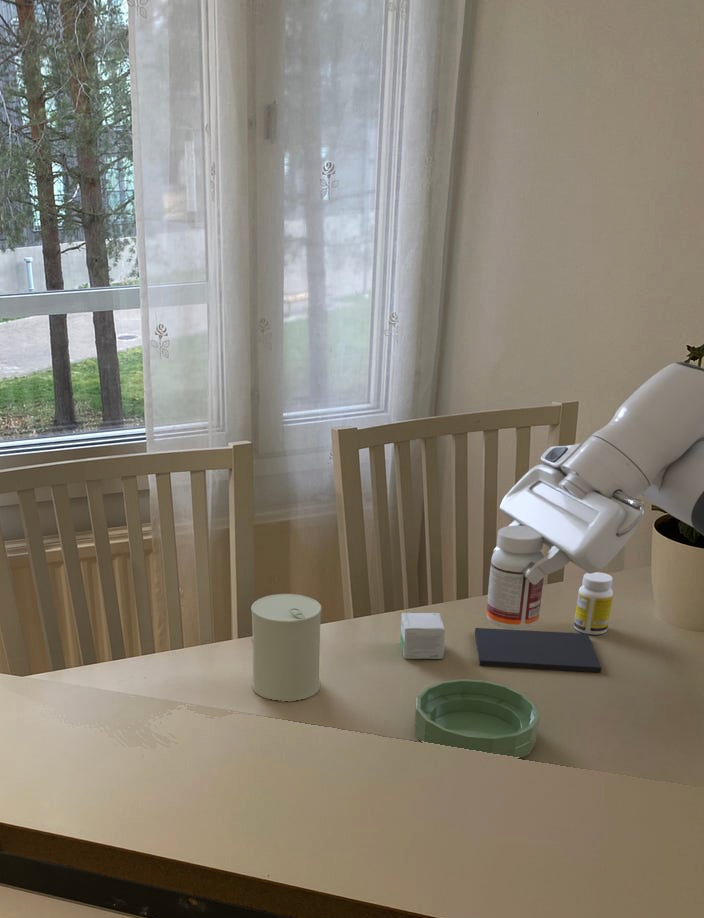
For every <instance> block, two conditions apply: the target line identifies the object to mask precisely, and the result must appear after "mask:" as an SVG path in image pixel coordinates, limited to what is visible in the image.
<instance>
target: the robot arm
mask: <svg viewBox="0 0 704 918" xmlns="http://www.w3.org/2000/svg"><path fill="white" fill-rule="evenodd" d="M540 461H541V462H542V463H540V464H539V463H538V464H537V465H535V466H533V467H532V468H530V469H529V470H528V471H527V472H526V473H525V474H524V475H523V476H522V477H521V478H520V479H519V480H518V481H517V482H516V483H515V484H514V485H513V486H512V487H511V488H510V489H509V491H508V492H507V493H505V495H504V497H503V498H502V500H501V502H500V505H499V511H500V512H501V513H502V514H503V515H504V516H505V517H506V518H508V520H509V521H510V522H511V523H510V524H509V525H508V526H528V527H529V528H531V529H532V530H533V531H535V532H537V533H538V534H540V535H541V536H542V537H543V545H545V546H547V547H548V548H549V550H547V551H546V554H547V555H546V556H544V558H543V559H541V560H539V561H538V562H536V563H535V564H534V563H533V562H530V563H529V564H528V565H527V567H526V568H524V569H523V570H522V575H523V576H524V577H525V578H526V579H527V580H528V581H529V582H531V583H532V584H537V583H538V582H539V581H540V580H541V579H542V578H543V577H544V578H545V577H546V576H548V575H551V574H553V573H555V572H557V571H560V570H562V569H563V568H565V567H566V566H567V565H568V564H569V562H571V563H572V564H574V565H575V566H577V567H579V568H580V569H581V570H583V571H584V572H586V573H590V574H592V573H595V572H599V571H602V570H604V568H605V567H606V566H607V565H608V564H609V563H610V562H611V561H612V560H613V559H614V558H615V557H616V555H618V553H619V552H620V551H621V550H622V549H623V548H624V546H625V545H626V544H627V542H628V541H629V540H630V539H631V538H632V536H633V534H634V532H635V531H636V527H637V526H638V525H639V524H640V523H641V522H642V521H643V519H644V517H645V515H644V514H645V503H644V502H643V501H642V500H641V499H639V498H640V497H641V496H643V497H644V499H646V500H647V501H648V502H649V503H651V504H652V505H654V506H656V507H657V508H659V509H661V510H663V511H665V512H666V513H667V514H669V515H670V516H672V517H674V518H675V519H677V520H679V521H680V522H683V523H685V524H686V525H688V526H690V527H692V528H694V530H696V531H697V532H698V533H699V534H701V535H702V536H704V367H701V366H698V365H696V364H693V363H689V362H684V361H676V362H673V363H671V364H668V365H667V366H665V367H663V368H662V369H660V370H659V371H658V372H656V373H655V374H654V375H652V376H651V377H650V378H649V379H647V380H646V381H645V382H644V383H643V384H642V385H641V386H639V387H638V388H637V389H636V390H635V391H633V393H632V394H631V395H630V396H629V397H628V398H627V399H625V401H624V402H623V403H622V404H621V405H620V406H619V407H618V409H616V412H615V414H614V416H613V417H612V418H611V419H610V421H609V422H608V423H607V424H606V425H604V426H603V427H602V428H600V429H598V430H597V431H595V432H594V433H593V434H591V435H590V436H589V437H588V438H587V439H586V440H585V441H584V442H583V443H580V442H579V443H575V444H569V445H556V446H555V445H554V446H550V447H549V448H547V449H546V450H545V451H544V452H543V453H542V454H541V456H540ZM497 549H499V548H498V546H497V545H496V547H494V548H493V550H492V552H493V553H494V552H495V551H496V550H497ZM493 553H492V554H493Z"/></svg>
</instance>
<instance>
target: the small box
mask: <svg viewBox="0 0 704 918" xmlns="http://www.w3.org/2000/svg"><path fill="white" fill-rule="evenodd" d="M445 635H446V628H445V625H444V622H443V619H442V616H441V613H439V612H402V613H401V622H400V640H399V642H400V645H401V646H400V647H401V651H402V656H403V659H405V660H443V659H444V651H445V638H446V636H445Z"/></svg>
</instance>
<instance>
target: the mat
mask: <svg viewBox="0 0 704 918" xmlns="http://www.w3.org/2000/svg"><path fill="white" fill-rule="evenodd" d="M474 637H475V643H476V649H477V656H478V664H479V666H482V667H484V666H485V667H499V668H500V667H501V668H514V669H515V668H517V669H519V668H520V669H532V670H533V669H535V670H550V671H566V672H567V671H568V672H584V673H602V669H603V668H602V665H601V662H600V660H599V658H598V655H597V653H596V651H595V648H594V645H593V644H592V643H593V642H592V641H591V639H590V635H589V634H585V633H581V632H566V631H565V632H564V631H545V630H527V629H509V628H488V627H487V628H486V627H475V628H474Z"/></svg>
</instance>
